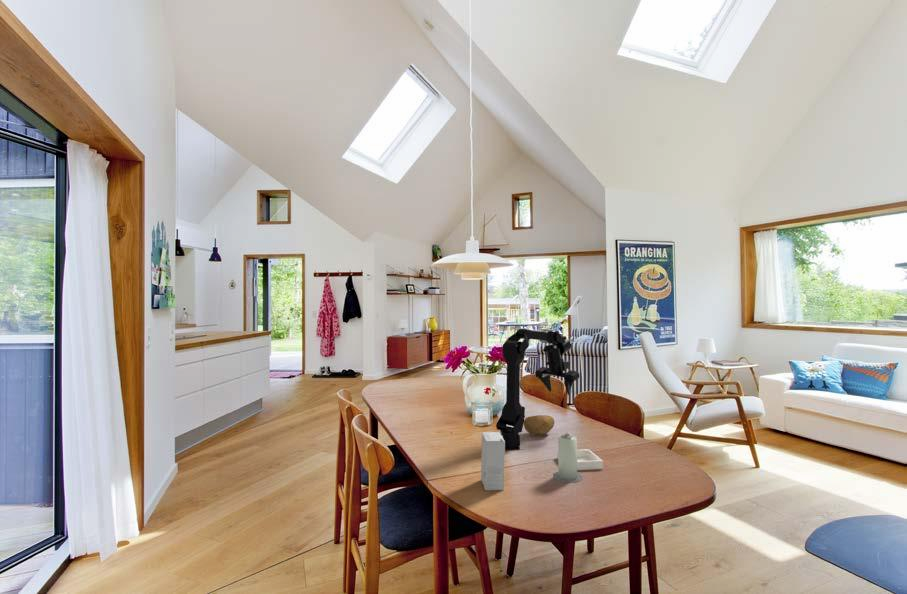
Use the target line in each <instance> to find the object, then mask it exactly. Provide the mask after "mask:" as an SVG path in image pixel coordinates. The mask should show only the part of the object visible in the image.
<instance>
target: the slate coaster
mask: <svg viewBox="0 0 907 594" xmlns="http://www.w3.org/2000/svg"><path fill="white" fill-rule="evenodd" d="M552 477H553V479H555V480H557V481H558V482H562V483H566V484H575V483H579V482H582V481H583V479H584V478H583V476H582V475H581V474H580V473H577V479H575V480H564V479H561V478H559V476H558V471H556V472H554V473H553V474H552Z"/></svg>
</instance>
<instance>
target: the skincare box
mask: <svg viewBox="0 0 907 594" xmlns="http://www.w3.org/2000/svg"><path fill="white" fill-rule="evenodd" d="M505 454H506V450H505V441H504V439H503V436H502V435H501V434H500V431H499V432H497V431H493V432H492V431H490V432H489V431H488V432H487V431H483V432H481V460H480V461H481V465H480V466H481V467H480V480H481V482H482V484H483V488H484V491H505V463H506V462H505V460H506V459H505V457H506V455H505Z"/></svg>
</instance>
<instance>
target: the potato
mask: <svg viewBox="0 0 907 594" xmlns="http://www.w3.org/2000/svg"><path fill="white" fill-rule="evenodd" d="M554 426H555V420H554V417H553V416H551V415H548V414H544V415H543V414H541V415H539V414H538V415H530V416H527V417H525V418H524V424H523V428H524V430H525V431H526V432H527V433H528V434H531V435H533V436H537V437H538V436H540V437H542V436H545V435H546V434H548V433H549V432H550V431H551V430H552V429H553V428H554Z"/></svg>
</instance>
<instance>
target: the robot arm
mask: <svg viewBox="0 0 907 594" xmlns="http://www.w3.org/2000/svg"><path fill="white" fill-rule="evenodd" d="M521 339H523V340H522V341H520V340H521ZM530 340H537V341H539V342H540V343H543V344H546V345H545V346H544V348H543V350H542V351H543V353H545V352H546V357H547V358H546V359H547V360H546V361H547V362H545V363H546V366H548V367H545V366H541V367H539V368H537V369H536V370H535V372H534V375H535V377H536V378H538V380H540V382H541V383H543V385H544V386H545V387H546V389H547V390H548V392H552V384H551V376H553V377H559V378H560V377H561V378H563V380H564V382H563V383H564V387H565V390H566V393H567V395H570V394H571V392H572V391H571V390H572V387H573V386H572V385H573V383H574V382H575V381H577V380H578V379H580V377H581V376H580V373H579V371H577V370H570V369H571V361H568V360H567V361H566V360H564V358H562V357H561V356H562V355H564V354H566V353H567V352H569V351H570V350H571V349H572V343H571V341H570V340H569V339H567V336H565V335H561V333H560V331H559V330H554V329H541V330H536V329H535V330H533V329H529V328H518V329H517V330H516V332H515V333H513V334H512V335H510V336H509V337H508V338H507V339H506V340H505V341H504V343H503V344H502V347H501V349H502V358H503V359H504V361H505V363H506V390H505V391H506V392H505V393H506V400H505V403H504V405H503V407H502V409H501V415H500V417H499V418H498V420H497V422H496V424H495V427H496V430H497V431H499V432H500V434H501V435H502V436H503V439H504V441H505V451H510V450H511V451H513V450H520V449H521V448H520V446H521V435H520V433H522V432H523V428H524V420H525V418H526V415H525V412H526V407H525V406H522V404H521V402H520V398H521V397H520V395H521V394H520V393H521V392H520V391H521V386H520V385H521V364H522V362H523V360H524V359H525V354H526V353H525V352H526V351H527V349H528V348H529V346H530ZM547 344H548V345H547ZM567 370H568V371H567ZM566 371H567V372H566Z"/></svg>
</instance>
